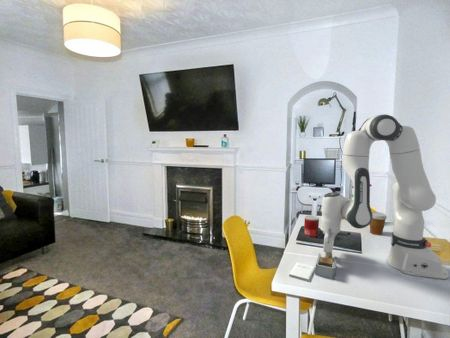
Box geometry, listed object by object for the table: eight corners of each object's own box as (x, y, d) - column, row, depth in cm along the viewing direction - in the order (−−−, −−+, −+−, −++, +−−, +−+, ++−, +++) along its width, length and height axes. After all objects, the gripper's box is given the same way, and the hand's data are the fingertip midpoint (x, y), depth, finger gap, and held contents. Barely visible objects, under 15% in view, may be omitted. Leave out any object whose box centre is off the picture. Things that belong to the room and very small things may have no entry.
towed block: (334, 257, 127) (334, 248, 126) (331, 275, 111) (332, 264, 111) (323, 255, 129) (323, 246, 128) (318, 272, 114) (319, 261, 113)
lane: (336, 266, 119) (336, 256, 119) (334, 279, 109) (334, 269, 108) (318, 262, 123) (319, 253, 122) (315, 274, 112) (315, 264, 112)
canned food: (319, 238, 151) (319, 219, 150) (304, 237, 153) (305, 218, 151) (317, 233, 159) (318, 215, 157) (303, 232, 160) (304, 214, 159)
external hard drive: (288, 277, 111) (296, 264, 122) (308, 283, 107) (315, 269, 118) (289, 273, 111) (297, 261, 122) (308, 279, 107) (315, 266, 117)
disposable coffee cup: (368, 234, 156) (369, 215, 155) (366, 229, 165) (367, 210, 164) (386, 237, 153) (388, 217, 151) (383, 231, 162) (385, 212, 160)
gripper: (336, 235, 114) (334, 265, 116) (338, 221, 132) (337, 247, 134) (320, 232, 117) (319, 261, 119) (325, 219, 135) (323, 244, 137)
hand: (328, 253), depth 126 cm, fingers closed on towed block, 3 cm apart
